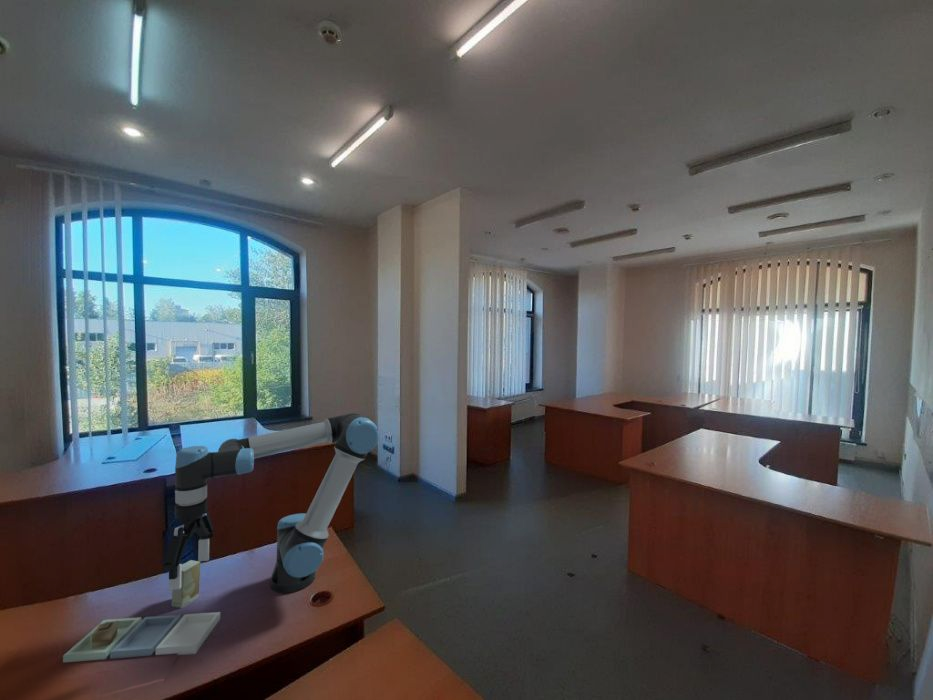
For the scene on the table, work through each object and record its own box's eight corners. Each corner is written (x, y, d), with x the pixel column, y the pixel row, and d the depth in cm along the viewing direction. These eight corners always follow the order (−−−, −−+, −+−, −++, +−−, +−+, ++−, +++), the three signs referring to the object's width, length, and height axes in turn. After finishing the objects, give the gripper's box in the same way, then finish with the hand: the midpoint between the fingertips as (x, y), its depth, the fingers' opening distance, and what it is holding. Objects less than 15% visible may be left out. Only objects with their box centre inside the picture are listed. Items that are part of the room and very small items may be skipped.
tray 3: (220, 619, 115) (220, 612, 115) (195, 653, 102) (195, 645, 102) (184, 622, 113) (185, 614, 113) (155, 657, 100) (155, 648, 100)
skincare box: (181, 610, 118) (183, 572, 118) (170, 608, 119) (172, 570, 119) (200, 597, 125) (201, 560, 125) (189, 595, 125) (190, 559, 126)
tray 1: (141, 625, 111) (141, 617, 111) (105, 661, 99) (106, 652, 99) (103, 627, 110) (104, 619, 110) (62, 664, 97) (63, 655, 97)
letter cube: (117, 634, 107) (117, 620, 107) (110, 644, 103) (110, 630, 103) (99, 638, 105) (99, 624, 105) (91, 648, 102) (92, 634, 102)
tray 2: (181, 622, 113) (181, 614, 113) (151, 657, 100) (151, 648, 100) (144, 625, 112) (145, 617, 112) (109, 660, 99) (110, 651, 99)
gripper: (202, 485, 119) (201, 551, 120) (145, 521, 95) (144, 603, 95) (227, 484, 120) (226, 549, 120) (177, 520, 96) (176, 601, 96)
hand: (190, 573), depth 108 cm, fingers open, 13 cm apart
